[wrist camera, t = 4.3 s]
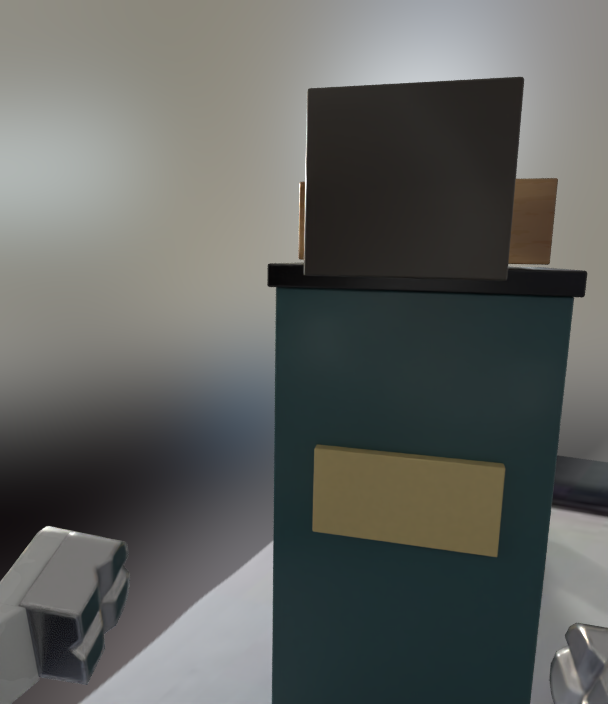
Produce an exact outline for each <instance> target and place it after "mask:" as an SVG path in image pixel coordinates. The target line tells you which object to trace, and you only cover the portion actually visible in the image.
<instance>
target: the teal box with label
mask: <svg viewBox="0 0 608 704" xmlns="http://www.w3.org/2000/svg"><path fill="white" fill-rule="evenodd" d="M586 280H587V272H586V271H582V270H568V269H556V268H544V267H543V268H542V267H508V274H507V279H506V280H505V281H485V280H449V279H413V278H377V277H341V276H306V275H304V263H274V264H273V263H272V264H268V284H267V285H268V286H269V287H276V339H275V341H276V343H275V441H274V443H275V444H274V544H273V648H272V704H530V700H531V690H532V681H533V672H534V663H535V653H536V644H537V635H538V626H539V617H540V607H541V598H542V589H543V580H544V570H545V561H546V552H547V543H548V533H549V524H550V515H551V506H552V497H553V487H554V478H555V469H556V460H557V450H558V441H559V432H560V423H561V413H562V404H563V395H564V386H565V376H566V367H567V358H568V348H569V339H570V330H571V321H572V312H573V302H574V297H584V296H585V290H586Z"/></svg>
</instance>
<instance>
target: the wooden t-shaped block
mask: <svg viewBox="0 0 608 704" xmlns="http://www.w3.org/2000/svg"><path fill="white" fill-rule="evenodd" d="M523 87H524V78H523V77H509V78H490V79H473V80H455V81H437V82H418V83H400V84H382V85H364V86H347V87H346V86H345V87H327V88H310V89H308V91H307V129H306V133H307V135H306V182H300V197H299V198H300V199H299V257H298V258H299V259H303V260H304V275H306V276H341V277H377V278H413V279H449V280H485V281H505V280H506V279H507V274H508V264H545V265H546V264H547V265H548V264H549V263H550V254H551V244H552V234H553V224H554V214H555V204H556V194H557V184H558V179H557V178H547V179H546V178H545V179H544V178H541V179H516V169H517V158H518V146H519V134H520V122H521V111H522V98H523Z"/></svg>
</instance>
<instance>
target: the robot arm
mask: <svg viewBox="0 0 608 704" xmlns="http://www.w3.org/2000/svg"><path fill="white" fill-rule="evenodd" d="M127 557H128V547H127V543H126V542H123V541H118V540H113V539H108V538H104V537H99V536H94V535H89V534H85V533H79V532H75V531H69V530H64V529H59V528H54V527H49V526H47V527H46V528H44V529H43V530H41V531H40V532H38V534H37V535H36V536H35V537H34V539H33V540H32V541H31V543H30V544H29V545H28V547H27V548H26V549H25V551H24V552H23V553H22V554H21V556H20V557H19V558H18V560H17V561H16V562H15V564H14V565H13V566H12V568H11V569H10V570H9V571H8V573H7V574H6V575H5V577H4V578H3V579H2V581H1V582H0V704H11V703H13V702H14V701H15V700H16V699H17V698H19V697H20V696H21V695H22V694H23V693H24V692H26V691H27V690H28V689H29V688H30V687H32V686H33V685H34V684H35V683H36V682H37V681H39V677H43V678H49V679H55V680H61V681H67V682H73V683H79V684H85V685H87V684H88V682H89V680H90V678H91V676H92V674H93V672H94V670H95V667H96V666H97V663H98V662H99V660H100V657H101V655H102V654H103V651H104V649H105V644H104V634H105V633H106V632H107V631H109V630H110V629H112V628H113V627H114V626H116V624H117V623H118V620H119V618H120V616H121V614H122V612H123V609H124V606H125V602H126V599H127V596H128V591H129V583H130V576H129V571H128V570H127V569H126V568H125V567H124V566H123V565H124V563H125V561H126V559H127ZM565 637H566V640H567V643H568V646H566V647H564V648H562V649H560V650H558V651H556V654H555V656H554V658H553V660H552V662H551V668H550V688H551V695H552V698H553V702H554V704H608V628H605V627H599V626H593V625H587V624H581V623H575V624H573V625H571V626H570V627H569V629H568V631H567V632H566V634H565Z"/></svg>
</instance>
